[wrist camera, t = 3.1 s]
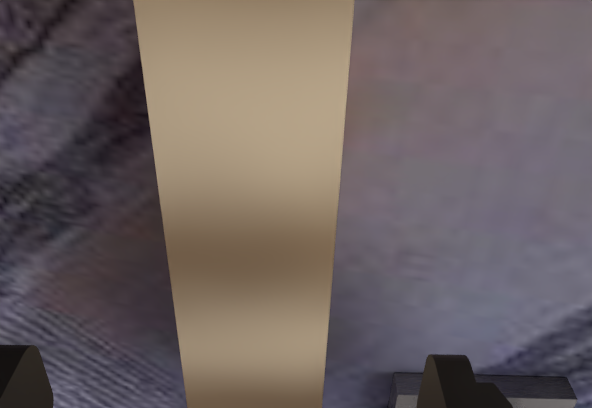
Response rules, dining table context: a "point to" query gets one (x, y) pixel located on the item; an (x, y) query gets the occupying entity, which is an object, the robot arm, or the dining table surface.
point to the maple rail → (248, 187)
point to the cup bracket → (517, 389)
